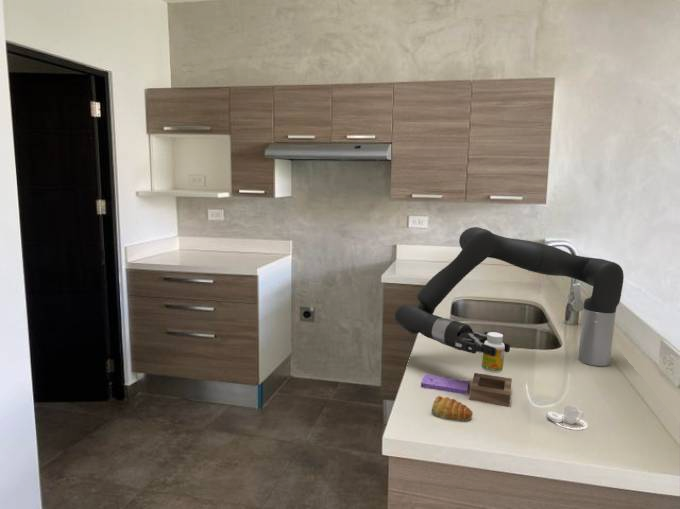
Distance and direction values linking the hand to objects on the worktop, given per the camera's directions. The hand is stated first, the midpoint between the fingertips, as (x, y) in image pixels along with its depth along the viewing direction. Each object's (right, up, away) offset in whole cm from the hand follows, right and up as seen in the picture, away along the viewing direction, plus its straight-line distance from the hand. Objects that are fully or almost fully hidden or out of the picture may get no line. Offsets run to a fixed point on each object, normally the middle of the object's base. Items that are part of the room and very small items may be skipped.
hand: (502, 350), depth 134 cm
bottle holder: (-2, -12, +4) cm, 13 cm away
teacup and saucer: (+12, -15, -8) cm, 21 cm away
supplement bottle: (-2, -6, +3) cm, 7 cm away
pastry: (-16, -14, -9) cm, 23 cm away
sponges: (-13, -12, +8) cm, 20 cm away
